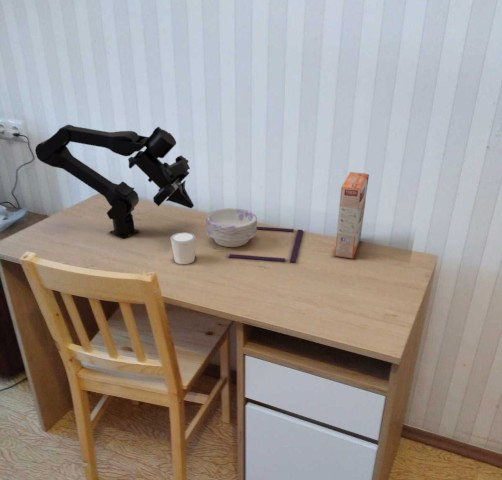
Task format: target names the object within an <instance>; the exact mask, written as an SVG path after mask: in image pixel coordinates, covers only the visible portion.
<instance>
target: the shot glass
mask: <svg viewBox="0 0 502 480" xmlns="http://www.w3.org/2000/svg"><path fill="white" fill-rule="evenodd" d="M170 242H171V248H172V249H171V250H172V253H173V254H172V255H173V258H174V262H175V263H176V264H179V265H189V264H191V263H193V262H194V261H195V258H196V236H195V234H194V233H191V232H178V233H174V234H172V235H171V236H170Z"/></svg>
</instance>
